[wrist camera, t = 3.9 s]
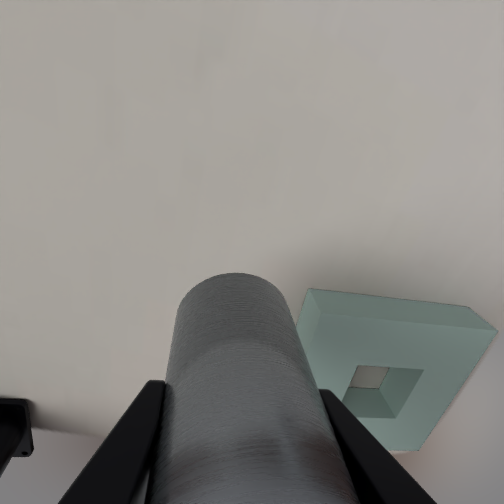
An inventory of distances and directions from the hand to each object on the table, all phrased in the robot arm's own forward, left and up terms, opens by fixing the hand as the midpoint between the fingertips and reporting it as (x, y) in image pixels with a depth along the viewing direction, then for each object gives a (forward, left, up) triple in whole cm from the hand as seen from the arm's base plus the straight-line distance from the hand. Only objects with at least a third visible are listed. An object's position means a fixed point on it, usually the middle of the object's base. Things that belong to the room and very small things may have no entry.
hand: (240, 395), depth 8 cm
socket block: (-11, -14, -13) cm, 22 cm away
